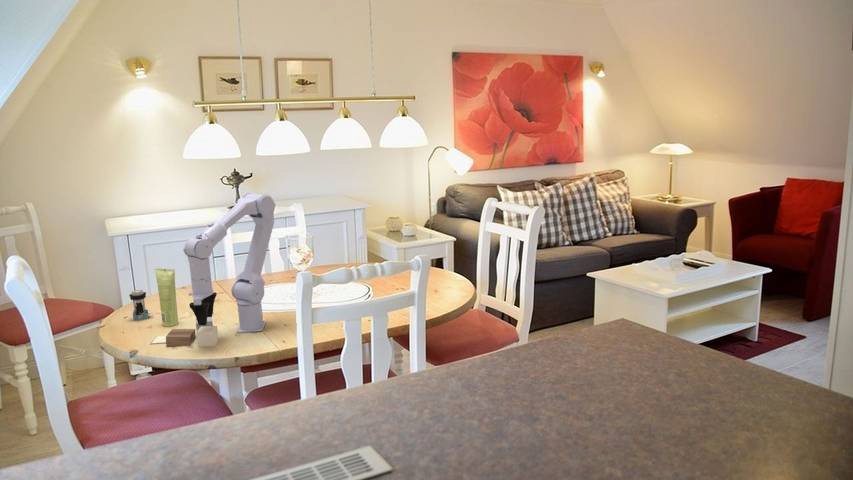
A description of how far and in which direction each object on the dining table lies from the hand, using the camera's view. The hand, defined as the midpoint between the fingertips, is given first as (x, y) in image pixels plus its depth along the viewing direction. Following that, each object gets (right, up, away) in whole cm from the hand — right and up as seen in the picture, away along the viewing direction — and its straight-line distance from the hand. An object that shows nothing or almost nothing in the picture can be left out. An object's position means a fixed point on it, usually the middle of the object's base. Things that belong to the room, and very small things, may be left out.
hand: (205, 320), depth 203 cm
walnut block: (-9, -7, +4) cm, 12 cm away
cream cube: (0, -7, +2) cm, 8 cm away
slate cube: (-3, -6, +10) cm, 12 cm away
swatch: (-15, -7, +6) cm, 18 cm away
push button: (-31, -3, +29) cm, 42 cm away
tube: (-18, -4, +21) cm, 28 cm away
